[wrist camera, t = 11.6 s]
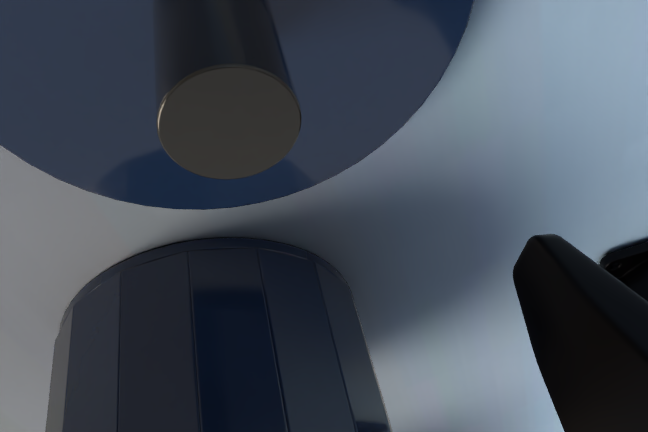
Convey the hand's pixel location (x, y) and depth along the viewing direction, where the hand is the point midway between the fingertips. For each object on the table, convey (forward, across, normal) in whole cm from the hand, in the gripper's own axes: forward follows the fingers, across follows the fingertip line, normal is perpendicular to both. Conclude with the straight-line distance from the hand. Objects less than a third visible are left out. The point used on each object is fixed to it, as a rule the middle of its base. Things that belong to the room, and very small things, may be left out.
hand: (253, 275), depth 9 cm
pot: (+9, 0, +15) cm, 17 cm away
